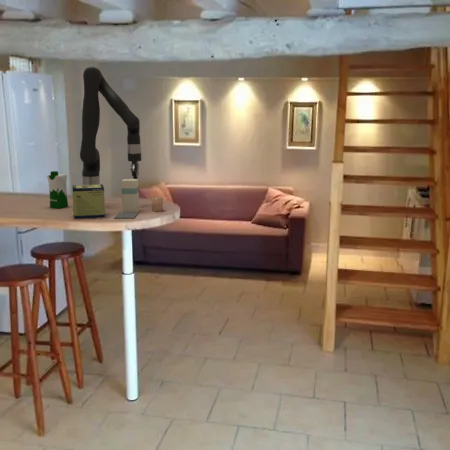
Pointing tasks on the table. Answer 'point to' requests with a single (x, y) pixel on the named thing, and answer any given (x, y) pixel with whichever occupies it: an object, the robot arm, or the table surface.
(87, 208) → the protein box
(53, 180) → the milk carton
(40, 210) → the table surface
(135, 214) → the mat
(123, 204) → the oat carton
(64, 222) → the table surface
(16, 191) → the table surface
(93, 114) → the robot arm
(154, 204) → the tan small block
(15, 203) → the table surface
